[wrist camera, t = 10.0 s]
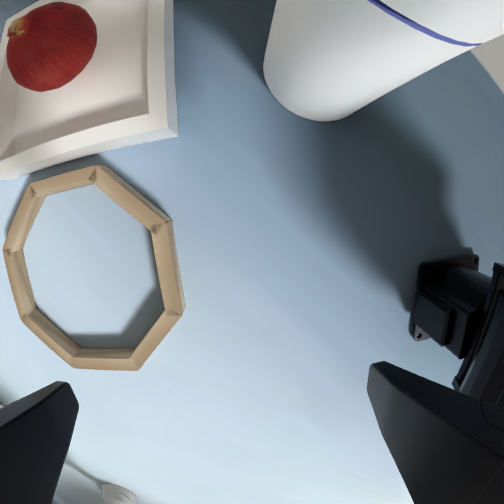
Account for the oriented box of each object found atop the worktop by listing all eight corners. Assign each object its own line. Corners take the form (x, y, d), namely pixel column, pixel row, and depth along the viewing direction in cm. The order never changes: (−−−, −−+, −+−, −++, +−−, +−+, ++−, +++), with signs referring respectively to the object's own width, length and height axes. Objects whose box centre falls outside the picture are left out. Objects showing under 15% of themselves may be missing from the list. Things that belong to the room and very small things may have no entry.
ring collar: (164, 154, 17) (158, 152, 16) (196, 357, 20) (193, 369, 19) (6, 194, 17) (-5, 195, 15) (45, 356, 20) (37, 364, 19)
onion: (44, 54, 14) (-19, 18, 6) (109, 17, 14) (60, -40, 6) (50, 116, 15) (-27, 94, 8) (120, 78, 15) (58, 27, 7)
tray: (173, -25, 14) (166, -47, 11) (179, 136, 17) (167, 127, 14) (24, 31, 14) (6, 20, 11) (13, 179, 17) (-12, 180, 14)
